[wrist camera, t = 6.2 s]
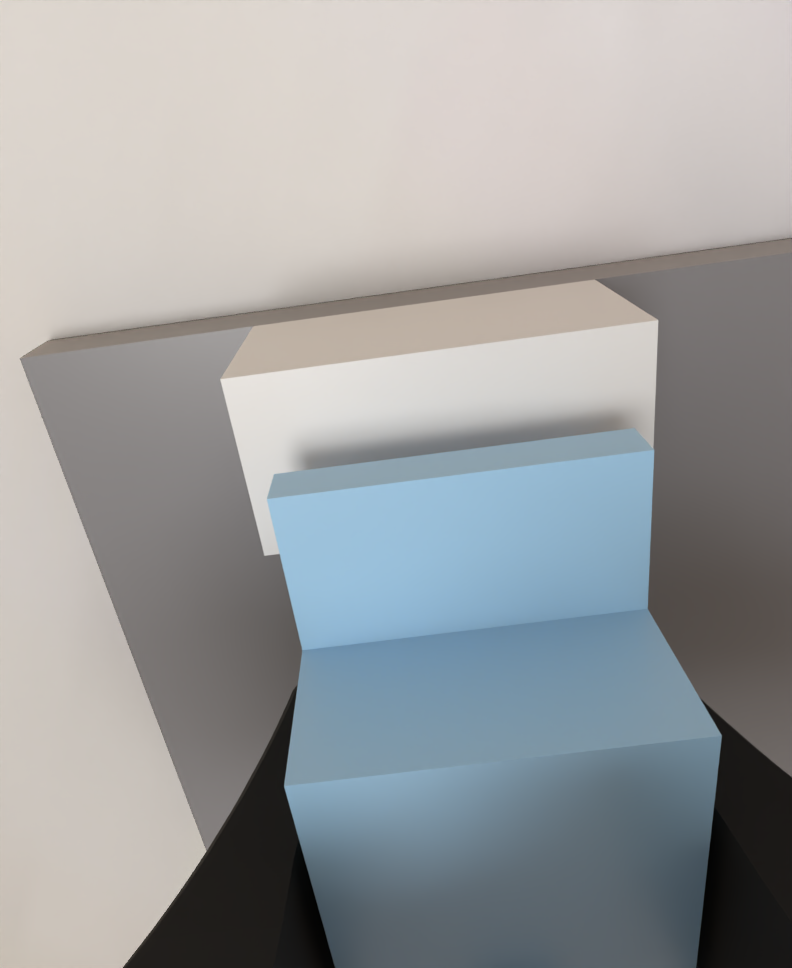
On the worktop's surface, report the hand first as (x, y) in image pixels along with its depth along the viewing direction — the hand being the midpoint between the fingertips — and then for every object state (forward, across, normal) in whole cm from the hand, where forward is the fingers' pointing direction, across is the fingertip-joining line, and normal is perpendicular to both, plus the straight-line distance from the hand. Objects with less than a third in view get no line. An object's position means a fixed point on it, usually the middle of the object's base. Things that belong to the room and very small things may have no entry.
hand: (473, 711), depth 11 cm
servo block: (+1, 0, 0) cm, 1 cm away
